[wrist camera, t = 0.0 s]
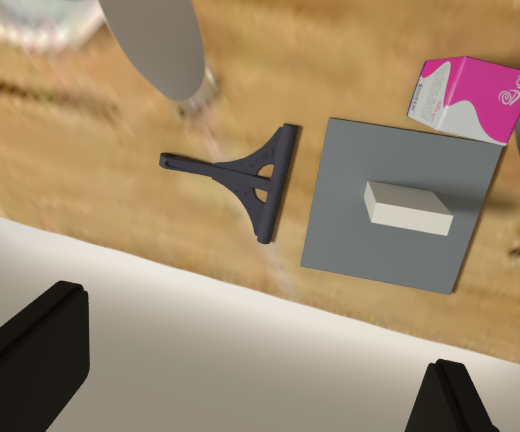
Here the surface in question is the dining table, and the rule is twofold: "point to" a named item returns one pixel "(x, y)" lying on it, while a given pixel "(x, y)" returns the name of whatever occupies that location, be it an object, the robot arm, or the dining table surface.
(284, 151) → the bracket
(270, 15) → the dining table surface
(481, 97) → the supplement box
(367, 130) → the mat
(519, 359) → the dining table surface
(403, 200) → the tile
